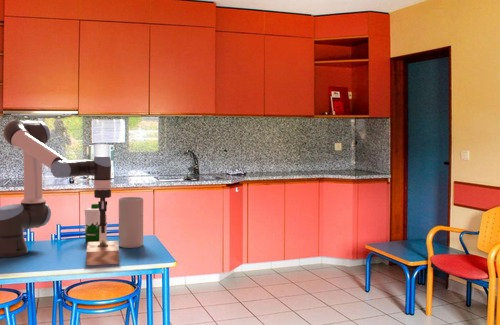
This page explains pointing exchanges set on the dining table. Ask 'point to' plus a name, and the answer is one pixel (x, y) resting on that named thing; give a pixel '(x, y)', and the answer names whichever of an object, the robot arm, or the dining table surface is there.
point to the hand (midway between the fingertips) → (103, 238)
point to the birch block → (102, 253)
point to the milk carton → (92, 223)
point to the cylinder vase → (130, 222)
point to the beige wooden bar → (102, 242)
